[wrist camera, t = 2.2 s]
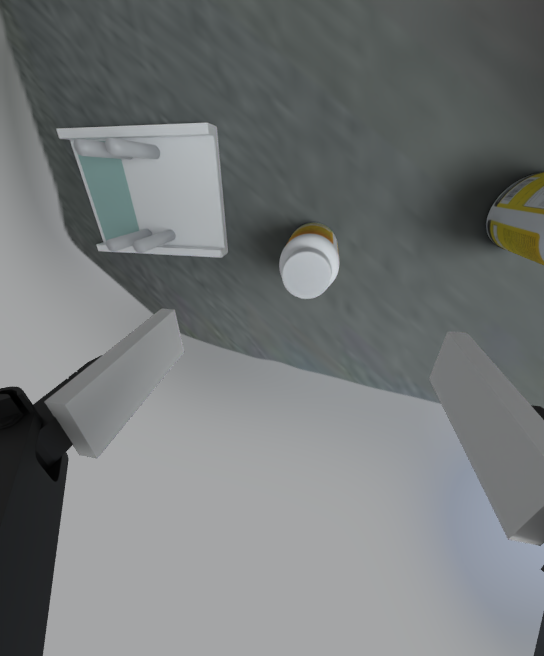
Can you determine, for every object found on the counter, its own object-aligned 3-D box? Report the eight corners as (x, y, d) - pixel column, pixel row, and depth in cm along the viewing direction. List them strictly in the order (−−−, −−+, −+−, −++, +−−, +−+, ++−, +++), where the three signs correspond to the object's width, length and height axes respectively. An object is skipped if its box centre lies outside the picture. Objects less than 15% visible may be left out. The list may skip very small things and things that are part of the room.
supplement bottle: (279, 238, 29) (260, 263, 21) (323, 211, 27) (321, 227, 18) (303, 278, 31) (293, 316, 22) (345, 256, 28) (352, 289, 20)
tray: (111, 246, 33) (64, 262, 27) (74, 131, 27) (4, 119, 21) (228, 252, 31) (204, 270, 25) (216, 126, 25) (181, 111, 19)
